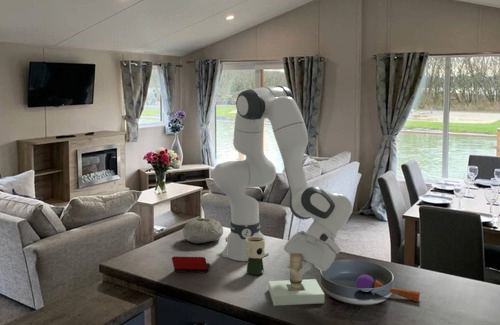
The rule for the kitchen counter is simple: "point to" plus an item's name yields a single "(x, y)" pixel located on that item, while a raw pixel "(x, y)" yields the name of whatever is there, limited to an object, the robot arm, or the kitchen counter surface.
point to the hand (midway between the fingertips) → (294, 271)
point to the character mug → (255, 254)
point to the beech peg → (295, 271)
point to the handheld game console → (190, 264)
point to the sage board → (296, 293)
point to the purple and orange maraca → (368, 282)
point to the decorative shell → (202, 230)
